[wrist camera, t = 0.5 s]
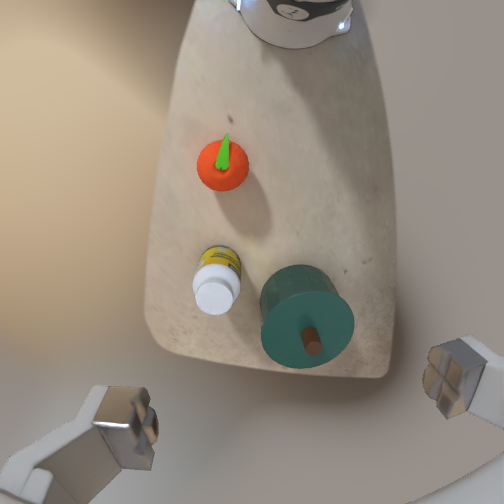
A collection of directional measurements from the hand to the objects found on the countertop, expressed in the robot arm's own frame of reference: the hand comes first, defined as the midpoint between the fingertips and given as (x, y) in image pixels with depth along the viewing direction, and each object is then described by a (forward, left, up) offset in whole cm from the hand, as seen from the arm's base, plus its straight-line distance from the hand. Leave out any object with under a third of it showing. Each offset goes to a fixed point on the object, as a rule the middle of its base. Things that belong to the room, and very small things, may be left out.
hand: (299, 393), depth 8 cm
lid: (+17, +13, -30) cm, 36 cm away
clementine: (-2, -4, -39) cm, 40 cm away
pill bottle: (+14, -1, -39) cm, 42 cm away
